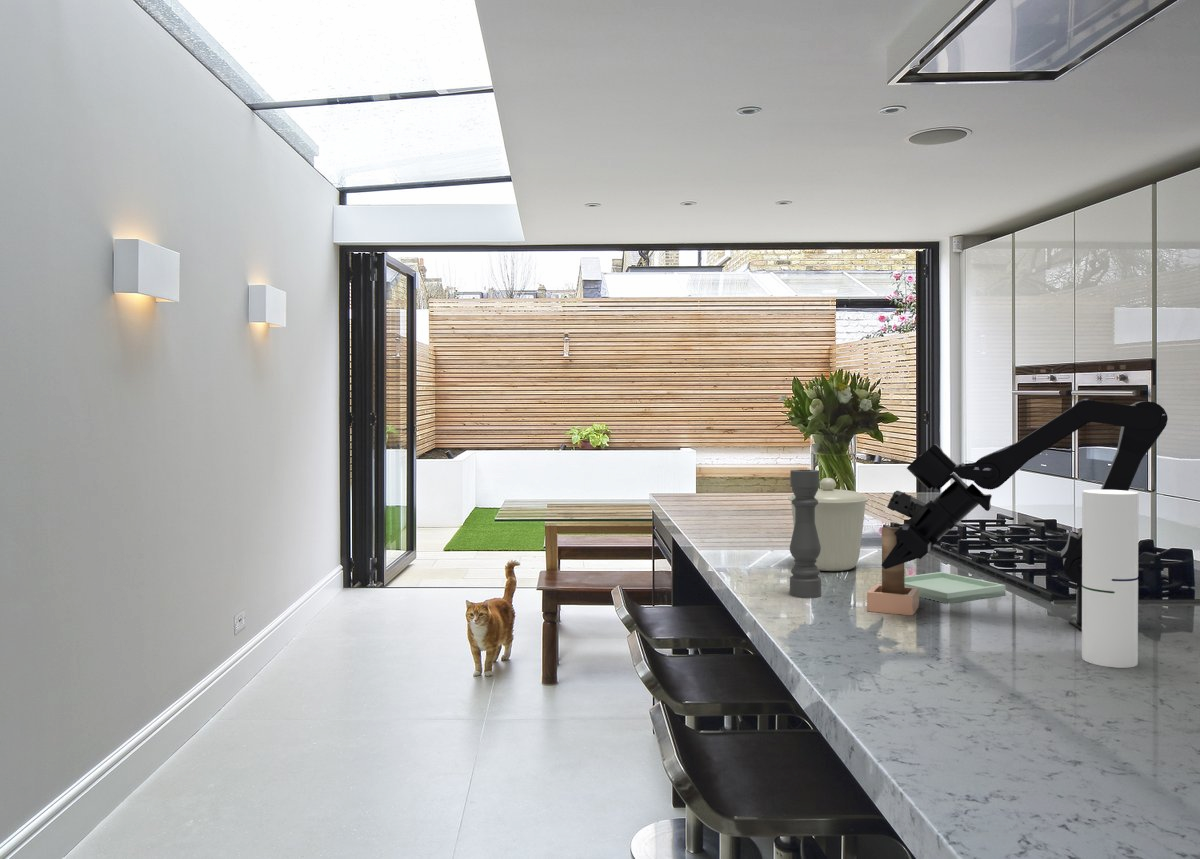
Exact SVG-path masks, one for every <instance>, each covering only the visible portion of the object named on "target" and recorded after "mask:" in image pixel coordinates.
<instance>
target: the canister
mask: <svg viewBox="0 0 1200 859" xmlns="http://www.w3.org/2000/svg"><path fill="white" fill-rule="evenodd" d="M819 487H820V488H818V491H817V492H816V495H815V499H817V500H818V504H817V505H816V507H815V525H816V529H817V533H818V538H819V542H820V546H821V551H820V554H819V556H818V558H817V559H816V560H817V561H816V563H815V565H816V566H817V568H818V569H819V570H820V572H844V571H849V570H852V569H854V568H855V567H856V566H857V564H858V562H859V560H860V553H861V547H862V539H863V529H864V521H865V511H866V503H867V502H868V501H869V498H868V497H866V496H864V495H863V494H862V493H860V492H858V491H854V490H848V489H836V481H835V479H834V478H832V477H824V478H822V479H821V480H819ZM793 499H795V495H794V493H793V494H792V495H790V496H788V500H789V501H790V503H791V514H792V522H793V527H794V526H795V507H794V505H793V504H792V500H793Z"/></svg>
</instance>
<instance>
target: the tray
mask: <svg viewBox="0 0 1200 859" xmlns="http://www.w3.org/2000/svg"><path fill="white" fill-rule="evenodd" d="M1006 586H1007V585H1006V584H1003V583H997V582H992V581H987V580H982V579H978V578H972V577H969V576H964V575H959V574H953V573H948V572H944V571H939V572H930V573H922V574H916V575H915V574H914V575H908V576H907V575H906V576H905V587H914V588H919V598H921V599H922V598H923V599H925V598H926V599H925V600H929V599H931V600H930V601H933V600H935V601H934V602H937V601H939V602H938V603H941V602H943V603H942V604H945V603H947V604H946V605H948V603H950V604H956V603H955V602H957V603H961V601H964V602H969V601H968V600H970V601H975V600H974V599H977V600H982V599H981V598H983V599H988V598H994V597H995V598H996V597H1001V596H1006V592H1007V591H1006Z"/></svg>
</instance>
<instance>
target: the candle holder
mask: <svg viewBox="0 0 1200 859" xmlns="http://www.w3.org/2000/svg"><path fill="white" fill-rule="evenodd" d="M789 474H790V479H789V480H790V487H791V491H792V493H793V494H794V495H795V499H793V500H792V504H793V505H794V507H795V526H794V525H793V531H792V535H791V539H790V544H789V553H790V554H791V556H792V557H793V561H794V563H795V564H793V565H794V566H793V567H792V568H791V570H790V573H791V574H792V575H791V576H790V577H789V595H790V596H791V597H796V598H802V599H811V598H812V599H814V598H820V597H822V578H821V577H820V576H819V575H820V572H821V571H820V570H819V569H818V568H817V566H816V565H815V563H816V561H817V560H816V559H817V558H818V556H819V554H820V551H821V546H820V542H819V538H818V533H817V529H816V525H815V507H816V505H817V504H818V500H817V499H815V495H816V492H817V491H818V489H819V488H820V470H819V469H791V470H790V473H789Z"/></svg>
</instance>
